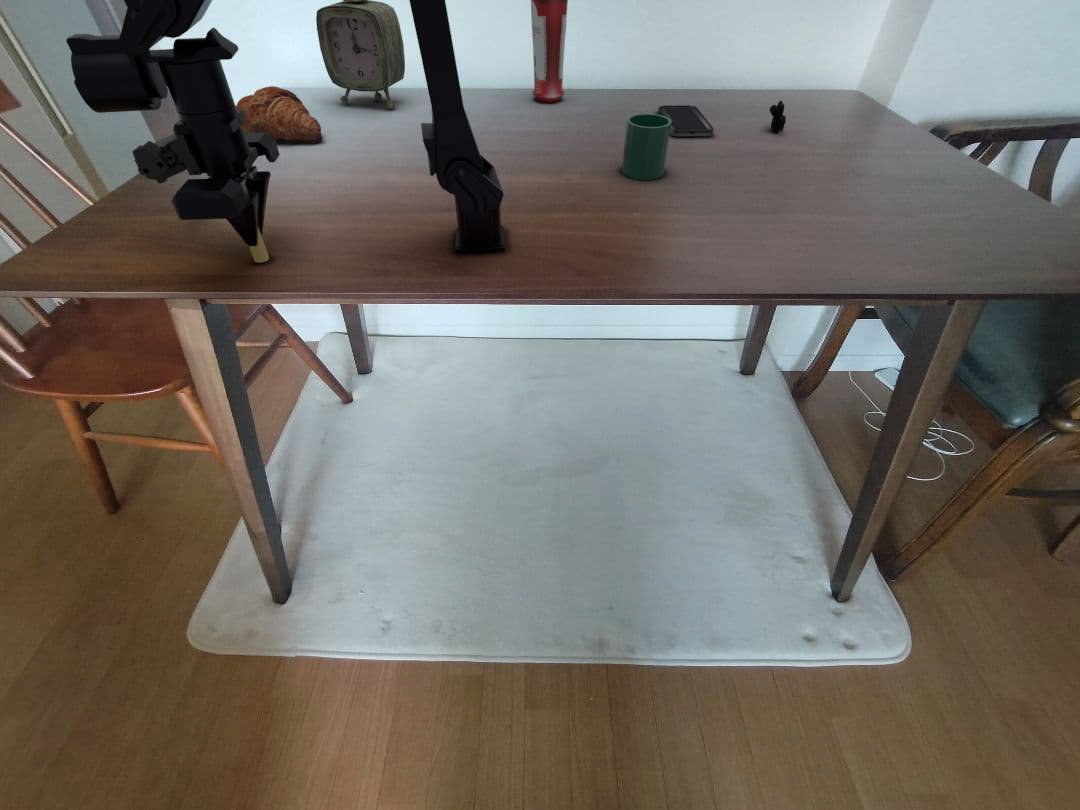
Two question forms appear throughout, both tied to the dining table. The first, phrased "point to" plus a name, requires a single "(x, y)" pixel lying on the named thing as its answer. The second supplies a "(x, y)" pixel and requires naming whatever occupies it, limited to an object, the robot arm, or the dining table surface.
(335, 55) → the tabletop clock
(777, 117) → the black figurine
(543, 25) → the liquor
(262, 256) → the yellow rod
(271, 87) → the pastry
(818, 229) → the dining table surface
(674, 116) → the phone
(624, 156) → the cup
